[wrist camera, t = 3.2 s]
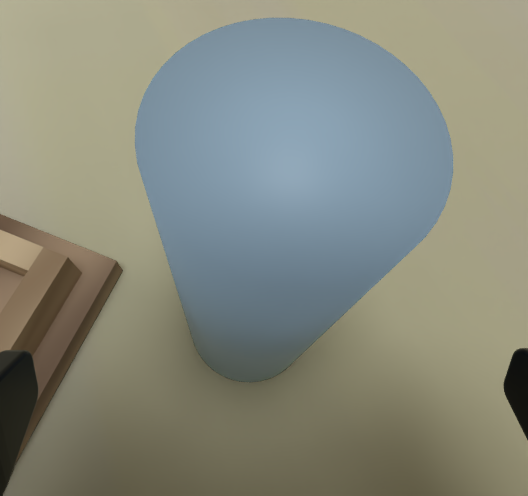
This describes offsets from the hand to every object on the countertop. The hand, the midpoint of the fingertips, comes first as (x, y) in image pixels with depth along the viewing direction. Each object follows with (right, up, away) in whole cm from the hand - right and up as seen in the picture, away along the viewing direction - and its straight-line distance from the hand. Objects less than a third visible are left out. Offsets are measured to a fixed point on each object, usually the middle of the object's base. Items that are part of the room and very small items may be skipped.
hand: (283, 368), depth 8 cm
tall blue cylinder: (-1, -1, +11) cm, 11 cm away
